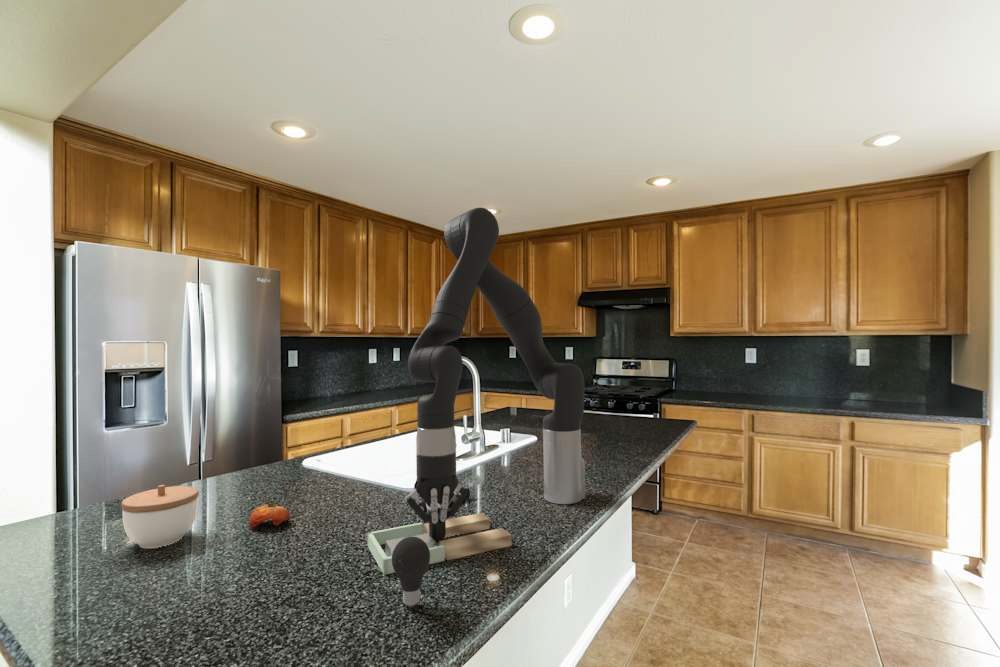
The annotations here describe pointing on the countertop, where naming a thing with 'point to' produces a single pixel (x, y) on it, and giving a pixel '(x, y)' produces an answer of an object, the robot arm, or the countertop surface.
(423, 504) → the electric trimmer
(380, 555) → the box
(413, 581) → the light bulb
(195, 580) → the countertop surface
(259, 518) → the tomato
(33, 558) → the countertop surface
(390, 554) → the metal chip
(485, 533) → the slot rails
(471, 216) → the robot arm
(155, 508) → the lidded bowl
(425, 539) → the metal chip
